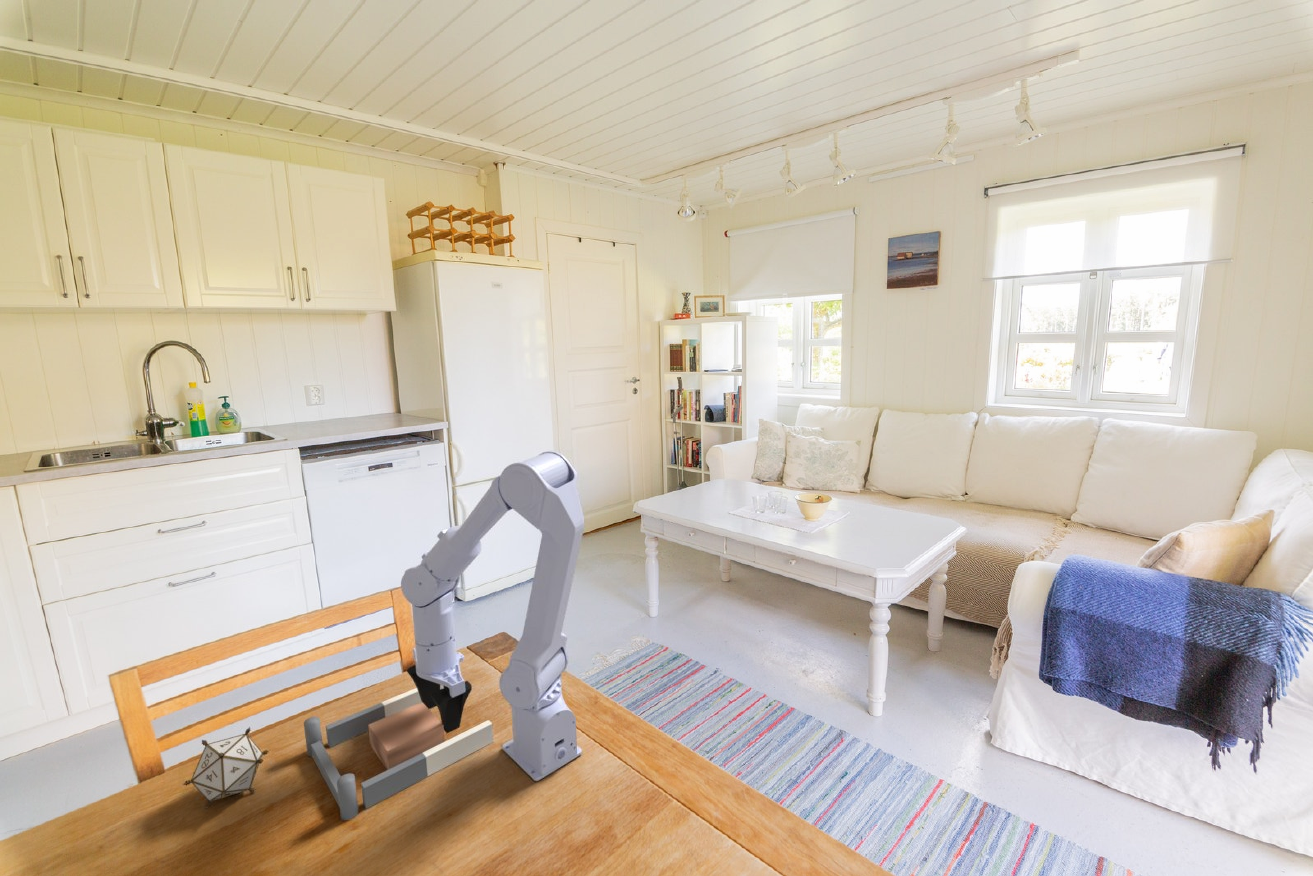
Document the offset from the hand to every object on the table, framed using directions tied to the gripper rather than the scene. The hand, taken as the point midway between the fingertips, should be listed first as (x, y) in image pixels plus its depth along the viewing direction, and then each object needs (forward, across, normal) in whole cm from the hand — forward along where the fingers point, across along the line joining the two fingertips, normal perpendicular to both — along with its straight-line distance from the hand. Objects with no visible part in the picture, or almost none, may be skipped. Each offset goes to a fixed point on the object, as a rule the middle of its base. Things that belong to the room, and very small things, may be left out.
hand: (441, 718), depth 90 cm
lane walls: (+2, 0, +1) cm, 2 cm away
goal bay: (+2, 0, +11) cm, 11 cm away
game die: (+2, +7, +26) cm, 27 cm away
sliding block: (+2, 0, +6) cm, 6 cm away
